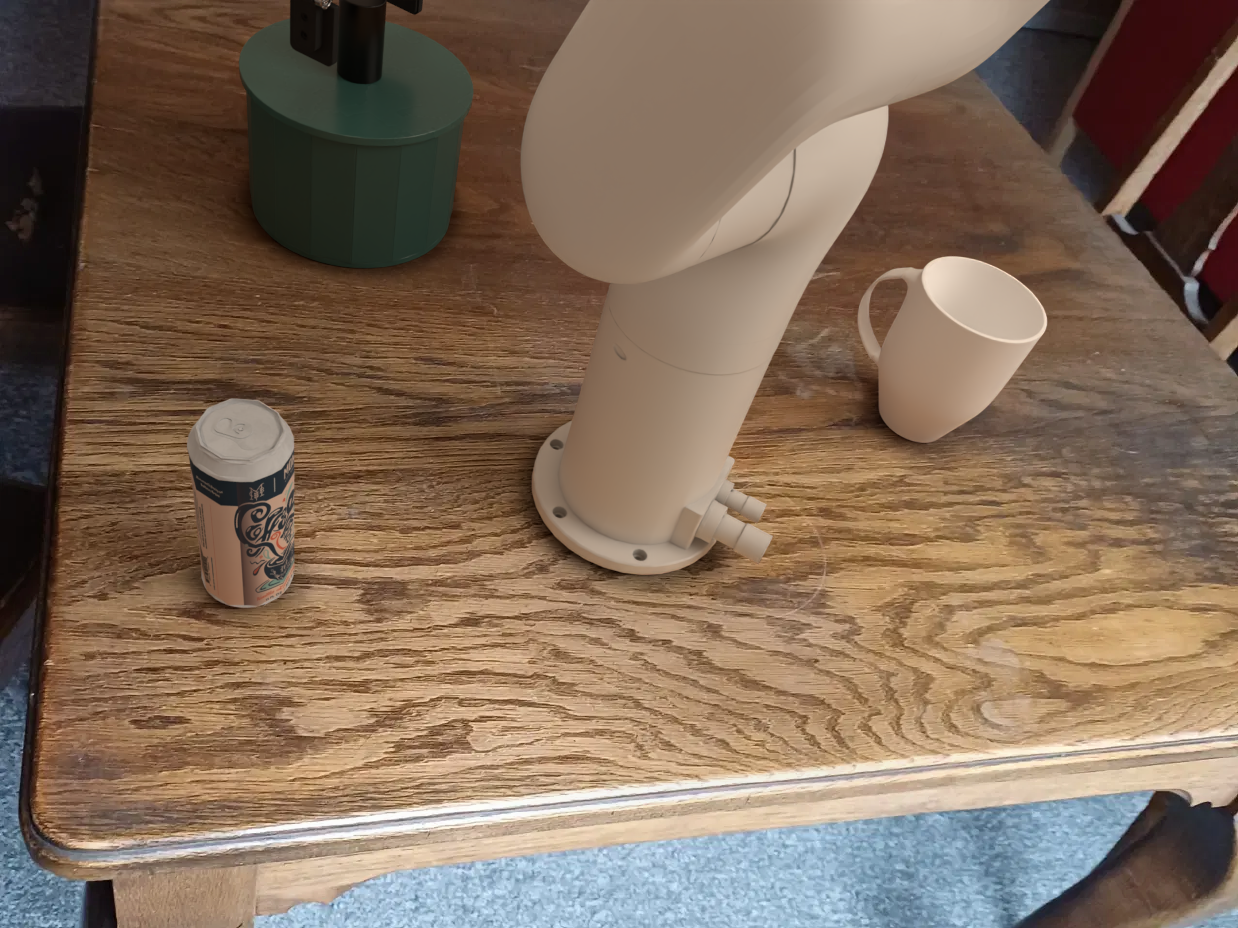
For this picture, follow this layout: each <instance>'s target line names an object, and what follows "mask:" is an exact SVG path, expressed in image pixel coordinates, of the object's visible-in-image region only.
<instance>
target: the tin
mask: <svg viewBox="0 0 1238 928" xmlns="http://www.w3.org/2000/svg"><path fill="white" fill-rule="evenodd" d="M245 94H246V95H245V96H246V97H245V99H246V100H245V101H246V122H247V123H246V124H247V126H246V127H247V150H248V151H247V152H248V153H247V154H248V177H249V182H248V183H249V193H250V197H251V207H252V211H253V214H254V216H255V219H256V220H257V222H258V224H259V225H260V226H261V228H262V229H263V230H264V232H266V234H268V235H269V236H270V237H271V239H273V240H274V241H276V242H277V243H278V244H279V245H281V246H282V247H284V248H286V249H288V250H289V251H291V252H293V253H295V254H297V255H299V256H302V257H304V258H307V259H309V260H311V261H315V262H318V263H323V264H327V265H331V266H335V267H336V266H337V267H343V268H351V269H379V268H386V267H387V268H388V267H392V266H393V267H394V266H397V265H402V264H405V263H409V262H411V261H413V260H416V259H418V258H420V257H422V256H424V255H426V254H428V253H429V252H430V251H432V250H433V249H434V248H436V247H437V245H439V244H440V242H441V241H443V238H444V237H445V236H446V234H447V232H448V229H449V226H450V222H451V221H450V220H451V217H452V213H453V210H454V209H453V208H454V200H455V193H456V185H457V179H458V172H459V171H458V170H459V162H460V154H461V147H462V139H463V131H464V123H465V119H464V120H463V121H462V122H461V123H460V124H459V125H458V126H456V127H455V128H454V129H452V130H450V131H449V132H447V133H445V134H443V135H441V136H438V137H436V138H433V139H430V140H427V141H423V142H418V143H414V144H407V145H399V146H363V145H354V144H347V143H341V142H336V141H331V140H327V139H324V138H320V137H316V136H313V135H310V134H308V133H305V132H302V131H299V130H297V129H295V128H293V127H290V126H288V125H286V124H284V123H283V122H281V121H279V120H277V119H275V118H274V117H272V116H271V115H270V114H268V113H267V112H265V111H264V110H263V109H262V108H261V107H259V106H258V105H257V104H256V103H255V102H254V101H253V100H252V98H251V97H250V96H249V95H248V93H247V92H246V91H245Z"/></svg>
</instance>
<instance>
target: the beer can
mask: <svg viewBox="0 0 1238 928" xmlns="http://www.w3.org/2000/svg"><path fill="white" fill-rule="evenodd" d="M186 442H187V443H186V450H187V453H188V460H189V468H190V476H191V477H190V478H191V485H192V487H191V488H192V495H193V505H194V515H195V523H196V531H197V532H196V533H197V540H198V541H197V542H198V549H199V559H200V569H201V570H200V572H201V573H200V574H201V575H200V576H201V577H200V578H201V580H202V584H203V586H204V588H205V590H206V592H207V593H208V594H209V595H210V596H211V597H213V599H214V600H216V601H218V602H220V603H221V604H225V605H226V606H228V607H229V606H230V607H234V608H241V609H249V608H256V607H261V606H265V605H267V604H270V603H271V602H273V601H275V600H277V599H279V598H280V597H281V596H282V595H283V594H284V593H285V592H286V591H287V590H288V588H289V587H290V585H291V583H292V582H293V578H294V575H295V436H294V435H293V431H292V429H291V427H290V425H289V424H288V423H287V421H286V420H285V419H284V418H283V417H282V416H281V415H280V412H279V411H277V410H275V409H274V408H272V407H270V406H269V405H267V404H265V403H264V402H262V401H260V400H258V399H246V398H229V399H226V400H224V401H221V402H219V403H216V404H213V405H210V406H208V407H206V409H205V411H204V412H203V414H201V416H200V417H199V418H198V420H197V421H196V422H195V423H194V424H193V426H192V427H191V429H190V432H189V433H188V435H187V441H186Z"/></svg>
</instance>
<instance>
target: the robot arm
mask: <svg viewBox="0 0 1238 928" xmlns="http://www.w3.org/2000/svg"><path fill="white" fill-rule="evenodd" d="M333 1H334V0H289V19H290V45H291V47H292V48H293V49H294V50H296V51H298V52H300V53H302V54H304V55H306V56H308V57H310V58H312V59H314V60H316V61H318V62H320V63H322V64H324V65H326V66H328V67H330V66H332V65H333V64H335V63H336V62H337V54H338V29H339V4H337V3H334V2H333ZM1050 1H1051V0H588V2H587V4H586V5H585V7H584V9H583V10H582V12H581V13H580V15H579V16H578V18H577V20H576V21H575V23H574V24H573V25H572V26H573V27H571V29H570V31H569V33H567V36H566V37H565V39H564V41H563V42H562V44H561V46H559V49H557V50H558V51H556V53H555V54H554V56H553V58H552V60H551V61H550V63H549V65H548V67H547V69H546V70H545V71H544V74H543V76H542V78H541V79H540V81H539V83H538V86H537V88H536V90H535V93H534V95H533V97H532V100H531V101H530V105H529V109H528V111H527V114H526V119H525V122H524V127H523V132H522V138H521V145H520V146H521V147H520V178H521V187H522V192H523V193H522V194H523V197H524V201H525V205H526V208H527V211H528V215H529V217H530V220H531V221H532V224H533V226H534V228H535V231H536V232H537V234H538V236H539V237H540V239H541V240H542V241H543V243H544V244H545V246H546V247H547V248H548V249H549V250H550V251H551V252H552V253H553V254H554V255H555V256H556V257H557V258H558V259H559V260H561V262H562V263H564V264H565V265H566V266H568V267H569V268H571V269H572V270H574V271H576V272H577V273H579V274H581V275H583V276H585V277H588V278H591V279H593V280H597V281H599V282H604V283H609V286H608V289H607V293H606V297H605V300H604V304H603V308H602V311H601V314H600V318H599V322H598V325H597V329H596V331H595V332H596V333H595V337H594V339H593V344H592V347H591V351H590V355H589V358H588V361H587V366H586V369H585V372H584V375H583V380H582V383H581V387H580V390H579V394H578V398H577V401H576V405H575V408H574V413H573V416H572V419H571V420H569V421H567V422H566V423H564V424H563V425H560V426H559V427H557V428H556V429H555V430H554V431H553V432H552V433H551V434H550V435H548V436H547V438H546V439H545V441H544V442H543V443H542V445H541V446H540V447H539V450H538V453H537V455H536V457H535V460H534V465H533V468H532V474H531V493H532V498H533V501H534V505H535V508H536V510H537V512H538V514H539V516H540V518H541V521H542V522H543V523H544V524H545V526H546V527H547V529H548V530H549V531H550V532H551V533H552V535H553V536H554V537H555V538H556V539H557V540H558V541H559V542H560V543H561V544H563V545H564V546H565V547H566V548H567V549H568V550H570V551H571V552H573V553H574V554H576V555H578V556H580V557H581V558H582V559H584V560H586V561H588V562H591V563H593V564H595V565H597V566H599V567H601V568H604V569H608V570H612V571H614V572H615V571H616V572H619V573H622V574H629V575H630V574H631V575H639V576H640V575H641V576H645V575H662V574H667V573H672V572H675V571H679V570H681V569H684V568H686V567H688V566H690V565H692V564H695V563H696V562H697V561H699V560H700V559H701V558H703V557H704V556H705V555H707V553H708V552H709V551H710V550H711V549H712V547H713V546H714V545H715V544H716V543H717V541H718V542H719V543H721V544H723V545H725V546H727V547H729V548H731V549H732V552H735V553H736V554H738V555H740V556H742V557H744V558H745V559H747V560H750V561H751V562H754V563H756V564H758V565H759V564H760V563H761V560H762V559H763V557H764V555H765V553H766V551H767V549H768V548H769V546H770V543H771V541H772V539H774V535H772V534H770V533H768V532H766V531H764V530H762V529H760V528H758V527H757V526H755V525H753V524H751V523H749V522H747V523H745V522H744V521H742V520H740V519H738V518H736V517H734V516H732V515H730V514H729V513H728V509H729V510H732V511H734V512H736V513H738V514H739V516H741V517H743V518H745V519H747V520H749V521H751V522H753V523H754V524H758V523H759V521H760V519H761V518H762V515H763V514H764V511H765V510H766V508H767V506H768V504H767V503H765V502H763V501H760V500H759V499H757V498H756V497H754V496H751V495H747V494H745V493H743V492H742V491H739V490H738V489H735V488H734V487H735V485H736V484H735V483H734V482H732V481H731V480H729V479H728V477H729V475H730V473H731V471H732V469H733V466H734V464H735V463H736V459H735V458H733V457H732V456H730V455H729V454H730V452H731V450H732V448H733V445H734V443H735V441H736V439H737V437H738V435H739V431H740V430H741V428H742V425H743V424H744V421H745V419H746V416H747V414H748V413H749V410H750V408H751V406H752V403H753V401H754V399H755V397H756V394H757V392H758V390H759V388H760V385H761V384H762V381H763V379H764V376H765V374H766V372H767V369H768V367H769V365H770V363H771V361H772V359H773V356H774V355H775V353H776V351H777V349H778V347H779V345H780V343H781V341H782V339H783V336H784V334H785V332H786V330H787V327H788V325H789V323H790V321H791V319H792V317H793V315H794V312H795V310H796V308H797V306H798V304H799V302H800V300H801V298H802V296H803V294H804V292H805V291H806V289H807V287H808V285H809V284H810V282H811V280H812V278H813V276H814V274H815V273H816V271H817V269H818V268H819V266H820V264H821V263H822V262H823V260H824V258H825V257H826V256H827V254H828V252H829V250H830V249H831V248H832V246H833V245H834V243H835V242H836V240H837V239H838V237H839V236H840V235H841V233H842V232H843V230H844V228H845V227H846V225H847V224H848V222H849V221H850V219H851V218H852V217H853V215H854V213H856V210H857V209H858V207H859V205H860V204H861V202H862V200H863V198H864V197H865V195H866V193H867V192H868V190H869V188H870V185H871V183H872V181H873V179H874V177H875V175H876V173H877V170H878V168H879V165H880V163H881V159H882V157H883V153H884V149H885V146H886V141H887V137H888V128H889V106H890V105H892V104H896V103H899V102H903V101H905V100H909V99H911V98H915V97H918V96H920V95H923V94H927V93H928V92H932V91H934V90H937V89H939V88H941V87H944V86H946V85H948V84H950V83H952V82H954V81H956V80H958V79H960V78H961V77H963V76H965V75H967V74H968V73H970V72H971V71H973V70H974V69H976V68H977V67H979V66H980V65H981V64H983V63H984V62H985V61H986V60H988V59H989V58H990V57H991V56H992V55H993V54H995V53H996V52H997V51H998V50H1000V49H1001V47H1003V45H1005V44H1006V43H1007V42H1008V41H1009V40H1010V39H1011V38H1012V37H1013V36H1014V35H1015V34H1016V33H1017V32H1018V31H1019V30H1020V29H1021V28H1022V27H1024V25H1026V23H1028V21H1030V20H1031V19H1032V18H1033V17H1034V16H1035V15H1036V14H1037V13H1038V12H1039V11H1041V9H1042V8H1044V7H1045V5H1047V4H1048V3H1049V2H1050ZM387 3H388V4H391V5H393V6H395V7H397V8H399V9H401V10H403V11H405V12H407V13H409V14H410V15H411V14H412V15H413V16H416V15H418V14H419V13H421V12H422V11H423V5H424V4H423V3H424V0H387Z"/></svg>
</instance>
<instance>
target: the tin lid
mask: <svg viewBox="0 0 1238 928" xmlns="http://www.w3.org/2000/svg"><path fill="white" fill-rule="evenodd" d="M387 3H388V2H387V0H338V6H339V29H338V54H337V62H336V63H335V64H333V65H332V66H330V67H328V66H326V65H324V64H322V63H320V62H318V61H316V60H314V59H312V58H310V57H308V56H306V55H304V54H302V53H300V52H298V51H296V50H294V49H293V48H292V47H291V45H290V18H286V19H283V20H279V21H275V22H274V23H272V24H269V25H266V26H265V27H263V28H261V29H260V30H258V31H256V32H255V33H254V34H253V35H252V36H251V37H249V39H247V40H246V42H245V43H244V45H243V46H242V48H241V51H240V53H239V58H238V72H239V79H240V82H241V84H242V87H243V88H244V90H245V93H246V92H247V93H248V95H249V96H250V97H251V98H252V100H253V101H254V102H255V103H256V104H257V105H258V106H259V107H261V108H262V109H263V110H264V111H265V112H267V113H268V114H270V115H271V116H272V117H274V118H275V119H277V120H279V121H281V122H283V123H284V124H286V125H288V126H290V127H293V128H295V129H297V130H299V131H302V132H305V133H308V134H310V135H313V136H316V137H320V138H324V139H327V140H331V141H336V142H341V143H347V144H354V145H363V146H399V145H407V144H414V143H418V142H423V141H427V140H430V139H433V138H436V137H438V136H441V135H443V134H445V133H447V132H449V131H450V130H452V129H454V128H455V127H456V126H458V125H459V124H460V123H461V122H462V121H463V120H464V121H465V119H466V117H467V116H468V114H469V113H470V111H471V108H472V105H473V99H474V83H473V80H472V77H471V75H470V73H469V71H468V69H467V67H466V66H465V64H463V62H462V61H461V60H460V59H459V58H458V57H457V56H456V55H455V54H454V53H453V52H452V51H450V50H449V49H448V48H446V47H445V46H444V45H442V44H441V43H439V42H437V41H436V40H434V39H432V37H431V38H430V37H429V36H427V35H425V34H423V33H421V32H418V31H416V30H414V29H411V28H409V27H406V26H403V25H401V24H398V23H393V22H391V21H387V20H386V19H387Z"/></svg>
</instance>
